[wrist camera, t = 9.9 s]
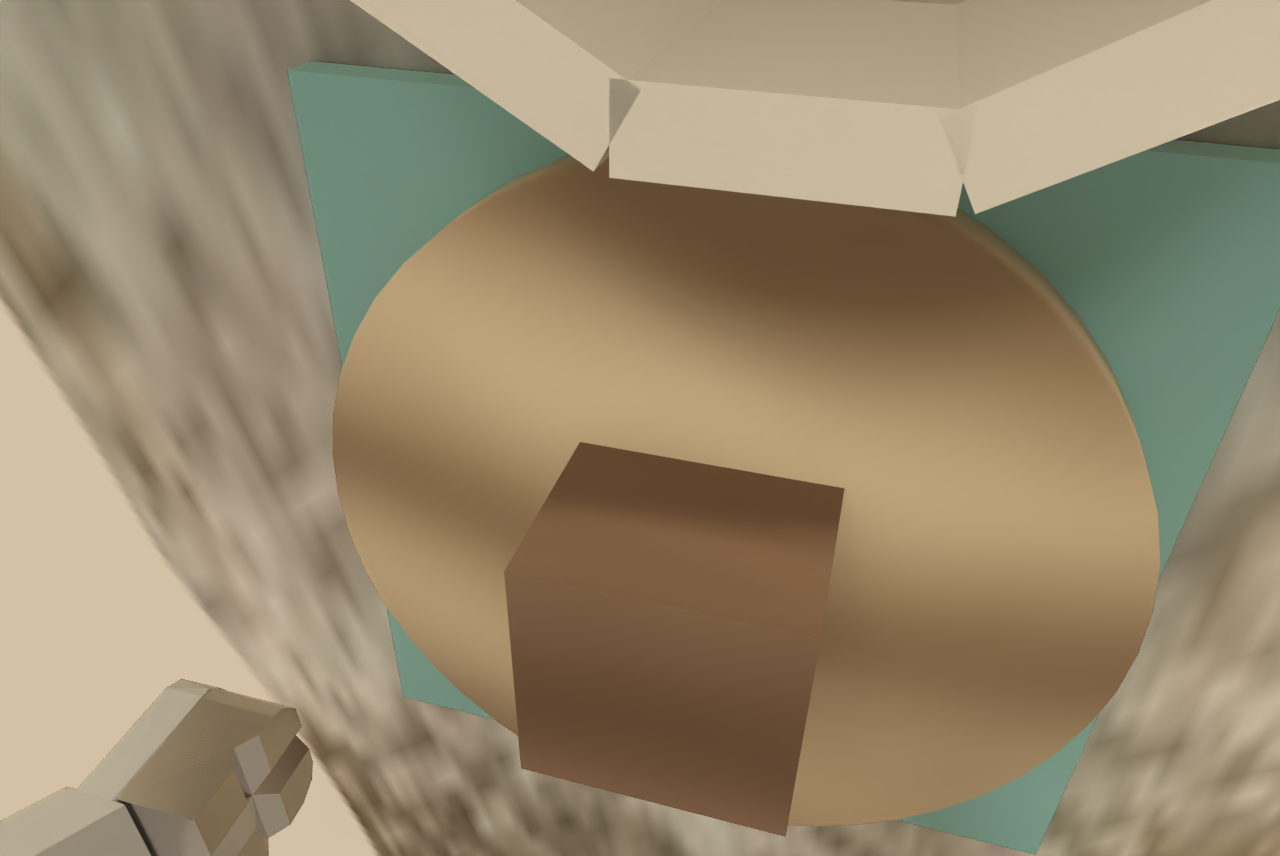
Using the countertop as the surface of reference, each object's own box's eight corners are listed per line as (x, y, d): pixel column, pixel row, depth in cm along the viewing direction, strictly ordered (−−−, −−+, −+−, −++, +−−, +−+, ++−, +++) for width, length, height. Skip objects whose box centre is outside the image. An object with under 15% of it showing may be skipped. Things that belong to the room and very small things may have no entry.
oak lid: (308, 94, 14) (96, 187, 10) (1298, 190, 11) (1456, 361, 7) (413, 690, 21) (310, 859, 17) (1023, 839, 18) (1039, 1075, 15)
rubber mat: (310, 61, 14) (287, 70, 13) (1325, 153, 11) (1341, 170, 11) (415, 677, 22) (403, 697, 21) (1033, 827, 19) (1035, 854, 18)
